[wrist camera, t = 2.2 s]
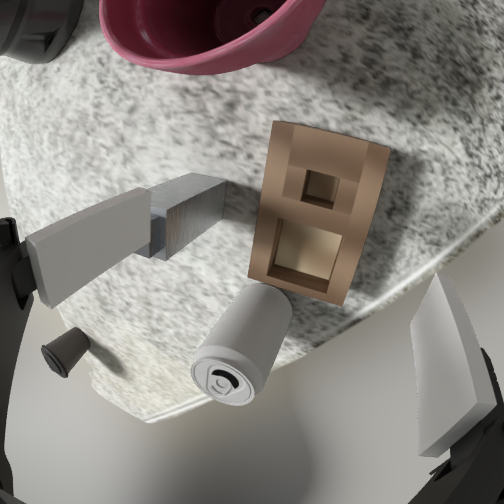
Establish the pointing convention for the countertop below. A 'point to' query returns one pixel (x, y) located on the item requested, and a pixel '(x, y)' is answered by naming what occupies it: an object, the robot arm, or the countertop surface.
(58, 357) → the coffee cup
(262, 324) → the beverage can
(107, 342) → the countertop surface
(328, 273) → the socket block
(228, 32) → the plant pot
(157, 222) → the grey square peg
